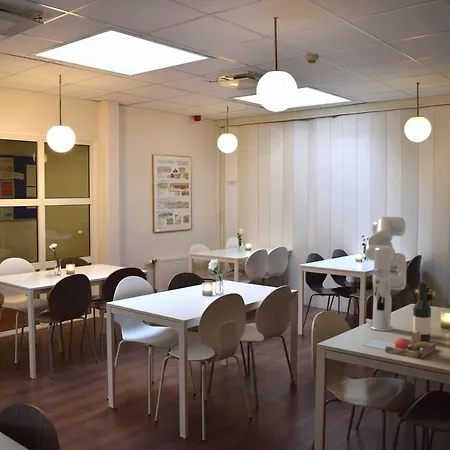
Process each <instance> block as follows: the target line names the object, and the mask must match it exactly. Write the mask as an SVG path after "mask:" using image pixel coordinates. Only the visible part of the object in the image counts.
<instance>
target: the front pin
mask: <svg viewBox="0 0 450 450" xmlns="http://www.w3.org/2000/svg"><path fill="white" fill-rule="evenodd" d="M423 347H427V342H426V341H425V342H420V343H417V349H418V348H423ZM407 349H408V350H411V344H410V345H408V348H407Z"/></svg>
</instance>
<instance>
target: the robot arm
mask: <svg viewBox="0 0 450 450" xmlns="http://www.w3.org/2000/svg"><path fill="white" fill-rule="evenodd" d="M371 227H372V235H371V236H370V237H368V239H367V240H366V243H365V251H364V255H365V258H366V259H367V260H368V261H373V273H372V289H373V299H372V300H373V304H372V305H373V306H372V319H369V318H366V319H365V322H366V324H370V325H369V328H370V329H371V330H374V331H378V332H379V331H380V332H390V331H393V330H394V326H393V325H391V324H392V323H391V321H392V300H393V299H392V296H391V290H395V291H396V290H397V291H401V290H404V289H406V285H407V258H406V255H405V254H403V253H402V252H401V253H400V252H396V250H395V249H394V247H393V243H392V240H393V237H402V236H404V235H405V233H406V221H405V219H404V218H403V217H401V216H381V217H379V218H378V219H377V220H374V222H373V223H372V225H371Z"/></svg>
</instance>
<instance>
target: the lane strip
mask: <svg viewBox="0 0 450 450" xmlns="http://www.w3.org/2000/svg"><path fill="white" fill-rule="evenodd" d="M362 345H363V346H364V347H366V348H367V347H368V348H373V349H379V350H384V351H385V348H386V346H389V347H394V348H395V342H388V341H384V340H379V339H372V340H369V341H368V342H366V343H363V344H362ZM422 349H423V348H420V350H422ZM406 350H408V349H406ZM410 351H411V350H410ZM417 352H419V351H417Z"/></svg>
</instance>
